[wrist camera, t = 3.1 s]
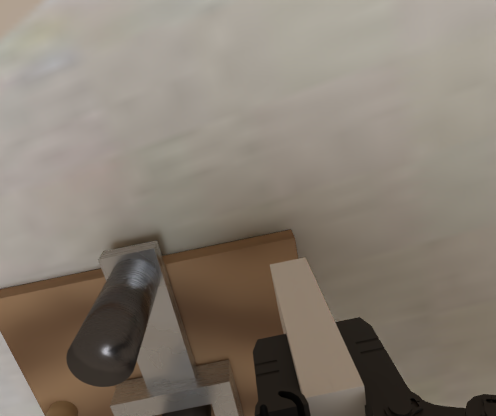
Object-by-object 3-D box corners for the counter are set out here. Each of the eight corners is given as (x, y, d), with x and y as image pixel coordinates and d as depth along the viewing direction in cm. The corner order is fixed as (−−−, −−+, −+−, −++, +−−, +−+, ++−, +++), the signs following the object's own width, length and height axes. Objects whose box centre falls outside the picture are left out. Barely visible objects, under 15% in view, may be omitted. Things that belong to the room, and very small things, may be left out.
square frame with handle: (250, 438, 26) (259, 562, 19) (150, 459, 26) (125, 589, 19) (194, 232, 20) (181, 308, 14) (66, 258, 20) (-8, 347, 14)
